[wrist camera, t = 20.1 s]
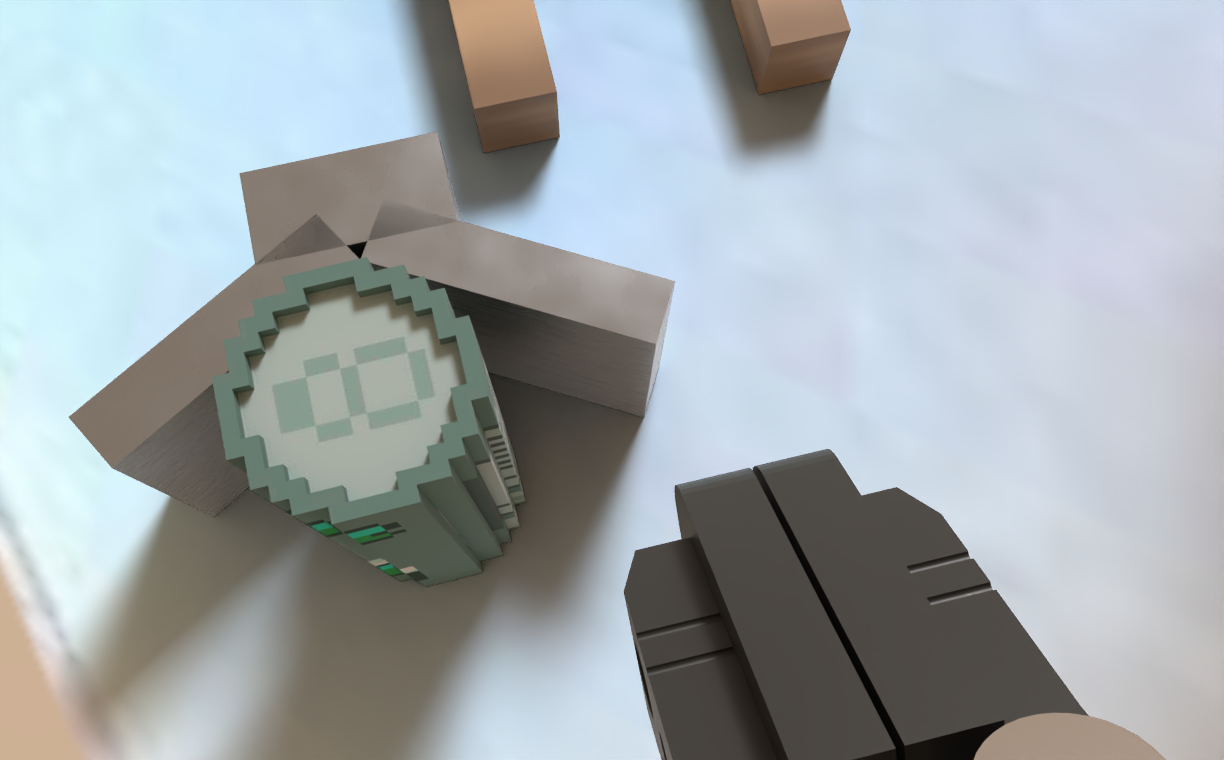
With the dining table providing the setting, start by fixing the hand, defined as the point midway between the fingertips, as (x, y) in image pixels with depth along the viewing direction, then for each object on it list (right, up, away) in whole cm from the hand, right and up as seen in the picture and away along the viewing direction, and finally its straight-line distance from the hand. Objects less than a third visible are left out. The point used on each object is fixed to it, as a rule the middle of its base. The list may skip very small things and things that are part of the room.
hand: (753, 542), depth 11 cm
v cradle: (-9, +2, +31) cm, 33 cm away
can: (-8, -3, +30) cm, 31 cm away
